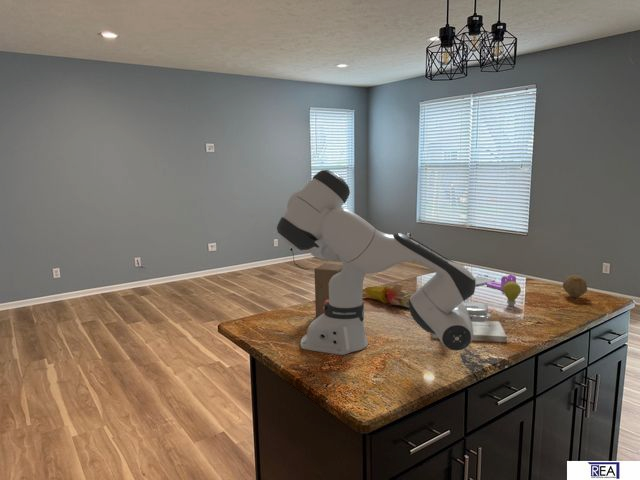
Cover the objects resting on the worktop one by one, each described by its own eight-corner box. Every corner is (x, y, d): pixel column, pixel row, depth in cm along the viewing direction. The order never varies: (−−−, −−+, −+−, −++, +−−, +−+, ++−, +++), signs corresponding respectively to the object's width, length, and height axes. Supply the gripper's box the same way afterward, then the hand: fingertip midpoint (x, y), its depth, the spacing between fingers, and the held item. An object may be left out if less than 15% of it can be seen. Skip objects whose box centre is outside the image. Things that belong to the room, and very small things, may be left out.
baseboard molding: (430, 287, 215) (448, 293, 205) (430, 282, 215) (448, 287, 204) (476, 278, 230) (495, 283, 219) (476, 272, 229) (495, 277, 219)
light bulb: (523, 306, 182) (525, 282, 180) (511, 309, 180) (512, 284, 178) (511, 302, 188) (512, 279, 187) (498, 304, 186) (499, 281, 184)
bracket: (515, 290, 206) (516, 275, 205) (507, 292, 203) (508, 277, 202) (491, 284, 217) (492, 270, 216) (484, 285, 214) (484, 271, 213)
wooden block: (315, 318, 176) (313, 268, 172) (325, 310, 185) (324, 263, 181) (338, 321, 171) (337, 270, 168) (348, 313, 180) (347, 264, 177)
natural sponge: (556, 295, 195) (558, 273, 193) (571, 293, 198) (572, 271, 197) (575, 301, 187) (577, 278, 185) (590, 298, 190) (592, 275, 188)
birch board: (431, 338, 153) (431, 332, 152) (430, 323, 166) (430, 318, 166) (506, 342, 147) (506, 336, 147) (499, 326, 161) (499, 321, 161)
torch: (369, 304, 203) (413, 309, 184) (357, 299, 198) (402, 304, 179) (373, 286, 205) (417, 290, 186) (361, 281, 200) (406, 284, 181)
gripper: (492, 308, 122) (486, 293, 135) (416, 304, 126) (416, 291, 140) (492, 330, 123) (485, 313, 136) (415, 326, 127) (416, 310, 141)
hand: (450, 302), depth 138 cm, fingers open, 8 cm apart
